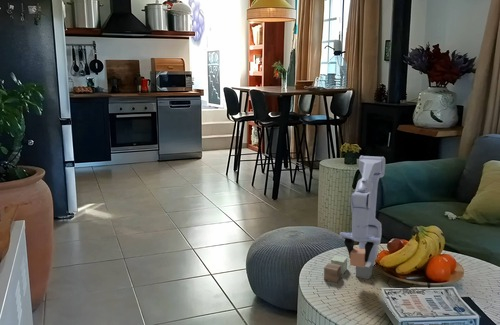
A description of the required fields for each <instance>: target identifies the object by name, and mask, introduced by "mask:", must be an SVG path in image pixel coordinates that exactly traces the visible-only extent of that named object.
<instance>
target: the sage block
mask: <svg viewBox="0 0 500 325" xmlns="http://www.w3.org/2000/svg"><path fill="white" fill-rule="evenodd" d="M330 263H332V264H337V265H341V275H343V274H345V272H346V271H347V270H348V257H347V256H341V255H338V254H337V255H334V256H333V257H332V258H331V259H330Z"/></svg>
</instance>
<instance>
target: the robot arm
mask: <svg viewBox="0 0 500 325" xmlns="http://www.w3.org/2000/svg"><path fill="white" fill-rule="evenodd" d="M358 158H359V159H358V170H359V172H360V175H361V178H360V179H358V181H357V184H356V187H355V190H354V192H353V193H351V196H350V208H351V210H350V211H351V214H352V215H351V217H352V218H351V232H343V231H341V232H340V233H339V239H340V240H343V239H344V241H343V242H344V243H343V244H344V245H345V247H346V250H347V253H348V256H349V257H350V253H351V251H352V250H353V249H354V246H355V242H358V248H360V249H365V262H367V261H369V262H372V267H375V266H374V261H375V259H376V257H377V255H378V256H379V246H380V245H381V240H382V231H383V230H382V222H380V221H379V220H378V219H377V218H376V213H377V212H376V211H377V199H378V198H377V197H378V186H379V181H380V178H381V179H382V178H383V177H384V176H385V170H386V158H385V157H384V156H372V155H371V156H370V155H360V156H359V157H358Z"/></svg>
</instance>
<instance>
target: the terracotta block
mask: <svg viewBox="0 0 500 325" xmlns="http://www.w3.org/2000/svg"><path fill="white" fill-rule="evenodd" d="M349 260H350V261H349V266H353V267H356V266H358V267H363V268H364V267H365V265H366V264H367V262H365V249H360V248H359V247H353V250H352V251H351V253H350V256H349Z"/></svg>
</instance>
